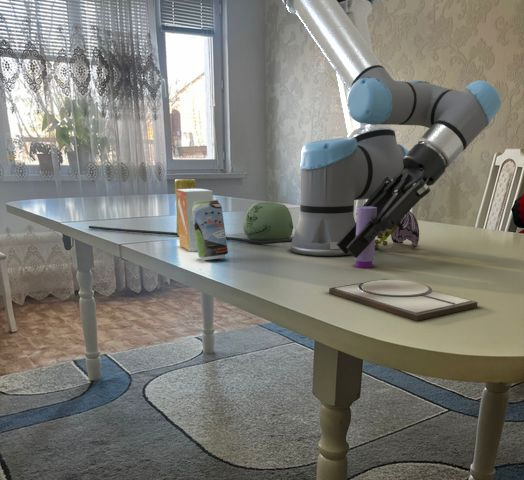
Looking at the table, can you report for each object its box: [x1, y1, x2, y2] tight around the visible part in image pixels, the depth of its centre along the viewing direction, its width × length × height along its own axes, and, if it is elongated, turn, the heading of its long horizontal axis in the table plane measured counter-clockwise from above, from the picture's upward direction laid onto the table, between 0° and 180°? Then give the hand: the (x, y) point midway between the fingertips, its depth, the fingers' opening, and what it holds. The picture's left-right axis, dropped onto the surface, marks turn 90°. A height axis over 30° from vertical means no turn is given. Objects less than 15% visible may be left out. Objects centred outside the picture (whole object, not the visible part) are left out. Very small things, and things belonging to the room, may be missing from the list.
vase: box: [174, 178, 197, 237], centre depth 143 cm, size 6×6×14 cm
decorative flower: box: [374, 210, 420, 250], centre depth 123 cm, size 14×12×15 cm
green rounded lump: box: [243, 202, 294, 241], centre depth 139 cm, size 16×13×9 cm
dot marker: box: [354, 206, 377, 269], centre depth 102 cm, size 4×4×11 cm
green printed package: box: [192, 199, 229, 261], centre depth 110 cm, size 6×7×12 cm
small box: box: [177, 188, 214, 252], centre depth 123 cm, size 8×6×13 cm
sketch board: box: [328, 278, 479, 322], centre depth 80 cm, size 18×14×1 cm
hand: (346, 250), depth 102 cm, fingers closed on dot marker, 4 cm apart
